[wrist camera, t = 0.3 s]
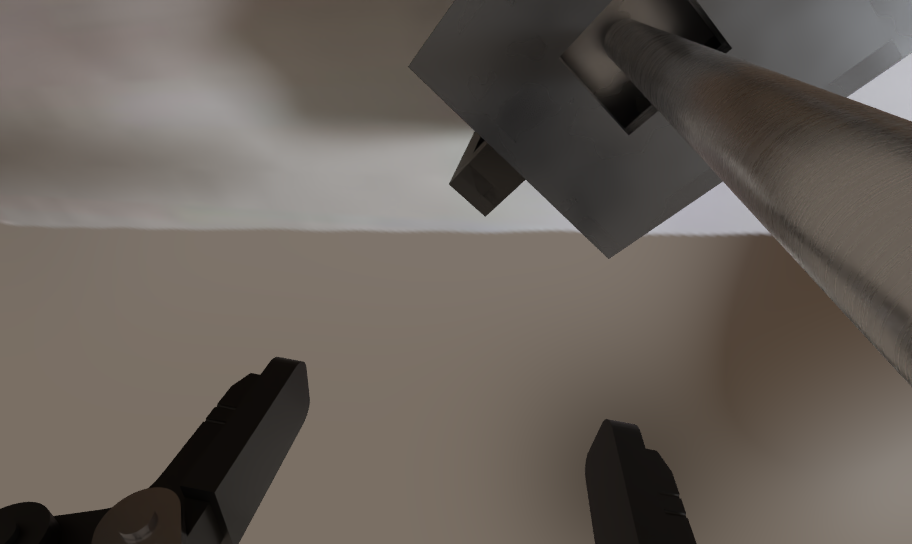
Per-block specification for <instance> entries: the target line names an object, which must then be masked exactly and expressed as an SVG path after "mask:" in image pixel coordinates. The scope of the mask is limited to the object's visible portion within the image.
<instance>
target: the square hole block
mask: <svg viewBox="0 0 912 544" xmlns="http://www.w3.org/2000/svg"><path fill="white" fill-rule="evenodd" d="M611 1H612V0H455V1H454V2H453V4H452V5H451V7H450V8H449V9H448V11H447V12H446V14H445V15H444V17H443V18H442V19H441V21H440V22H439V24H438V25H437V26H436V28H435V29H434V31H433V32H432V34H431V35H430V36H429V38H428V39H427V41H426V42H425V43H424V45H423V46H422V48H421V49H420V51H419V52H418V53H417V55H416V56H415V58H414V59H413V60H412V62H411V63H410V65H409V66H408V67H409V68H410V69H411V70H412V71H413V72H414V73H415V74H416V75H417V76H418V77H419V78H420V79H421V80H422V81H423V82H424V83H425V84H427V85H428V86H429V87H430V88H431V89H432V90H433V91H434V92H435V93H436V94H437V95H438V96H439V97H440V98H441V99H442V100H443V101H444V102H445V103H446V104H447V105H448V106H450V107H451V108H452V109H453V110H454V111H455V112H456V113H457V114H458V115H459V116H460V117H461V118H462V119H463V120H464V121H465V122H466V123H467V124H468V125H469V126H470V127H471V128H472V129H474V130H475V132H474V134H473V136H472V138H471V140H470V142H469V144H468V146H467V148H466V150H465V152H464V154H463V156H462V158H461V160H460V163H459V165H458V167H457V169H456V171H455V173H454V175H453V177H452V179H451V181H450V183H449V185H450V186H451V187H453V188H454V189H455V190H456V191H457V192H458V193H459V194H460V195H462V196H463V197H464V198H465V199H466V200H467V201H468V202H469V203H471V204H472V205H473V206H474V207H475V208H476V209H477V210H478V211H480V212H481V213H482V214H483V215H484V216H485V217H486V216H487V215H488V214H489V213H490V212H491V211H492V210H493V209H494V208H495V207H496V206H497V205H499V204H500V203H501V202H502V201H503V200H504V199H505V198H506V197H507V196H508V195H509V194H510V193H512V192H513V191H514V190H515V189H516V188H517V187H518V186H519V185H520V184H521V183H522V182H523V181H525V180H527V181H528V182H529V183H530V184H531V185H532V186H533V187H534V188H535V189H536V190H537V191H538V192H539V193H540V194H541V195H542V196H543V197H545V198H546V199H547V200H548V201H549V202H550V203H551V204H552V205H553V206H554V207H555V208H556V209H557V210H558V211H559V212H560V213H561V214H562V215H563V216H564V217H565V218H566V219H568V220H569V221H570V222H571V223H572V224H573V225H574V226H575V227H576V228H577V229H578V230H579V231H580V232H581V233H582V234H583V235H584V236H585V237H586V238H587V239H588V240H589V241H590V242H592V243H593V244H594V245H595V246H596V247H597V248H598V249H599V250H600V251H601V252H602V253H603V254H604V255H605V256H606V257H607V258H608V259H609V258H611V257H612V256H614V255H615V254H617V253H618V252H620V251H621V250H622V249H624V248H626V247H627V246H628V245H630V244H632V243H633V242H634V241H636V240H637V239H639V238H640V237H642V236H643V235H645V234H646V233H648V232H649V231H651V230H652V229H654V228H655V227H656V226H658V225H659V224H661V223H662V222H664V221H665V220H667V219H668V218H670V217H671V216H673V215H674V214H676V213H677V212H679V211H680V210H681V209H683V208H684V207H686V206H687V205H689V204H690V203H692V202H693V201H695V200H696V199H698V198H699V197H701V196H702V195H704V194H705V193H706V192H708V191H709V190H711V189H712V188H714V187H715V186H717V185H718V184H720V183H721V182H723V181H722V180H721V179H720V178H719V176H718V175H717V174H716V173H715V172H714V171H713V170H712V169H711V168H710V167H709V166H708V164H707V163H706V162H705V161H704V160H703V159H702V158H701V157H700V156H699V155H698V154H697V153H696V151H695V150H694V149H693V148H692V147H691V146H690V145H689V144H688V143H687V142H686V141H685V139H684V138H683V137H682V136H681V135H680V134H679V133H678V132H677V131H676V130H675V129H674V127H673V126H672V125H671V124H670V123H669V122H668V121H667V120H666V119H665V118H664V117H663V115H662V114H661V113H660V112H659V111H658V110H657V109H656V108H655V107H654V106H653V105H651V106H649V107H648V108H647V109H646V110H645V111H644V112H643V113H641V114H640V115H639V116H638V117H637V118H636V119H634V120H633V121H632V122H631V123H630V124H629V125H627V126H626V127H625V128H624V127H623V126H622V125H621V124H620V123H619V122H618V120H617V119H616V118H615V117H614V116H613V115H612V114H611V113H610V112H609V110H608V109H607V108H606V107H605V106H604V105H603V104H602V103H601V102H600V100H599V99H598V98H597V97H596V96H595V95H594V94H593V93H592V92H591V91H590V89H589V88H588V87H587V86H586V85H585V84H584V83H583V82H582V81H581V79H580V78H579V77H578V76H577V75H576V74H575V73H574V72H573V71H572V69H571V68H570V67H569V66H568V65H567V64H566V63H565V62H564V61H563V60H562V58H561V57H560V56H561V55H562V54H563V53H564V52H565V51H566V50H567V49H568V47H569V46H570V45H571V44H572V43H573V42H574V41H575V40H576V39H577V38H578V37H579V36H580V35H581V33H582V32H583V31H584V30H585V29H586V28H587V27H588V26H589V25H590V24H591V23H592V22H593V21H594V20H595V18H596V17H597V16H598V15H599V14H600V13H601V12H602V11H603V10H604V9H605V8H606V7H607V6H608V4H609V3H610V2H611ZM688 1H689V3H690V4H691V5H692V7H693V8H694V9H695V11H696V12H697V13H698V15H699V16H700V17H701V19H702V20H703V21H704V23H705V24H706V25H707V27H708V28H709V29H710V31H711V32H712V33H713V34H714V36H715V37H716V38H717V40H718V41H719V42H720V44H721V45H720V46H719V47H718V48H717V49H716V50H718V51H720V52H723V53H726V54H729V55H731V56H734V57H737V58H739V59H742V60H745V61H748V62H750V63H753V64H756V65H759V66H761V67H764V68H767V69H769V70H772V71H775V72H778V73H780V74H783V75H786V76H789V77H791V78H794V79H797V80H799V81H802V82H805V83H808V84H810V85H813V86H816V87H819V88H821V89H824V90H827V91H829V92H832V93H835V94H838V95H840V96H843V97H848V96H849V95H851V94H852V93H853V92H855V91H856V90H858V89H859V88H861V87H862V86H864V85H865V84H867V83H868V82H870V81H871V80H873V79H874V78H875V77H877V76H878V75H880V74H881V73H883V72H884V71H886V70H887V69H889V68H890V67H892V66H893V65H895V64H896V63H898V62H899V61H900V60H902V59H903V58H905V57H906V56H908V55H909V54H911V53H912V0H688Z"/></svg>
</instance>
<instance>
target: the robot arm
mask: <svg viewBox="0 0 912 544" xmlns="http://www.w3.org/2000/svg"><path fill="white" fill-rule="evenodd" d="M309 403H310V397H309V388H308V379H307V370H306V364H305V362H302V361H297V360H291V359H286V358H280V357H275V358H273V359H272V360H271V361H270V363H269V364H268V365H267V367H266V368H265V369H264V371H263V372H262V373H261V375H258V374H253V373H250V374H249V375H247V376H246V377H244V378H243V379H241V380H240V381H238V382H237V383H236V384H234V385H233V386H231V387H230V389H229V390H228V391H227V392H226V394H225V395H224V396H223V398H222V399H221V400H220V401H219V403H218V405H217V407H215V408H214V409H213V410H212V411H211V413H210V414H209V415H208V417H207V418H206V421H205V422H203V423H202V424H201V425H200V426H199V428H198V429H197V430H196V432H195V433H194V434H193V435H192V437H191V438H190V439H189V440H188V442H187V443H186V444H185V445H184V447H183V448H182V449H181V451H180V452H179V453H178V454H177V456H176V457H175V458H174V459H173V461H172V462H171V463H170V464H169V466H168V467H167V468H166V470H165V471H164V472H163V473H162V474H161V476H160V477H159V478H158V479H157V480H156V481H155V482H154V483H153V484H152V485H151V486H150V487H149V488H147V489H144V490H141V491H138V492H135V493H133V494H131V495H129V496H127V497H126V498H124V499H122V500H121V501H120V502H118V503H117V504H116V505H114V506H113V507H112V508H108V509H102V510H95V511H88V512H81V513H74V514H66V515H58V516H53V515H52V514H51V513H50V511H49V510H48V509H47V508H46V507H45V506H44V505H42V504H40V503H36V502H23V503H18V504H13V505H10V506H7V507H4V508H2V509H0V544H239V542H240V540H241V538H242V536H243V535H244V532H245V531H246V529H247V527H248V525H249V523H250V521H251V520H252V518H253V516H254V514H255V512H256V510H257V508H258V507H259V505H260V503H261V501H262V499H263V497H264V496H265V494H266V492H267V490H268V488H269V486H270V484H271V483H272V481H273V479H274V477H275V475H276V473H277V471H278V470H279V468H280V466H281V464H282V462H283V460H284V458H285V456H286V455H287V453H288V451H289V449H290V447H291V445H292V444H293V441H294V440H295V438H296V436H297V434H298V432H299V430H300V429H301V427H302V425H303V423H304V421H305V419H306V416H307V413H308V408H309ZM585 477H586V485H587V491H588V498H589V505H590V512H591V519H592V526H593V532H594V539H595V544H696V541H695V538H694V535H693V532H692V529H691V527H690V524H689V521H688V518H686V512H685V509H684V506H683V503H682V500H681V499H680V498H679V492H678V488H677V486H676V483H675V480H674V477H673V474H672V471H671V470H670V469H669V467H668V466H667V464H666V463H665V462H664V460H663V459H662V458H661V456H660V455H659V453H658V452H657V451H655V450H650V449H645V445H644V442H643V439H642V435H641V433H640V429H639V428H638V426H637V425H635V424H630V423H625V422H619V421H613V420H608V419H606V420H604V421H603V423H602V425H601V427H600V429H599V431H598V433H597V435H596V437H595V440H594V442H593V444H592V446H591V448H590V450H589V452H588V454H587V458H586V465H585Z"/></svg>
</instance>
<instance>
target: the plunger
mask: <svg viewBox="0 0 912 544" xmlns="http://www.w3.org/2000/svg"><path fill="white" fill-rule="evenodd" d="M720 45H721V44H720V42H719V41H718V40H717V38H716V37H715V36H714V34H713V33H712V32H711V31H710V29H709V28H708V27H707V25H706V24H705V23H704V21H703V20H702V19H701V17H700V16H699V15H698V13H697V12H696V11H695V9H694V8H693V7H692V5H691V4H690V3H689V1H688V0H612V1H611V2H610V3H609V4H608V6H607V7H606V8H605V9H604V10H603V11H602V12H601V13H600V14H599V15H598V16H597V17H596V18H595V20H594V21H593V22H592V23H591V24H590V25H589V26H588V27H587V28H586V29H585V30H584V31H583V32H582V33H581V35H580V36H579V37H578V38H577V39H576V40H575V41H574V42H573V43H572V44H571V45H570V46H569V47H568V49H567V50H566V51H565V52H564V53H563V54H562V55H561V56H560V57H561V58H562V60H563V61H564V62H565V63H566V64H567V65H568V66H569V67H570V68H571V69H572V71H573V72H574V73H575V74H576V75H577V76H578V77H579V78H580V79H581V81H582V82H583V83H584V84H585V85H586V86H587V87H588V88H589V89H590V91H591V92H592V93H593V94H594V95H595V96H596V97H597V98H598V99H599V100H600V102H601V103H602V104H603V105H604V106H605V107H606V108H607V109H608V110H609V112H610V113H611V114H612V115H613V116H614V117H615V118H616V119H617V120H618V122H619V123H620V124H621V125H622V126H623V127H624V128H625V127H626V126H627V125H629V124H630V123H631V122H632V121H633V120H634V119H636V118H637V117H638V116H639V115H640V114H641V113H643V112H644V111H645V110H646V109H647V108H648V107H649V106H651V105H653V106H654V107H655V108H656V109H657V110H658V111H659V112H660V113H661V114H662V115H663V117H664V118H665V119H666V120H667V121H668V122H669V123H670V124H671V125H672V126H673V127H674V129H675V130H676V131H677V132H678V133H679V134H680V135H681V136H682V137H683V138H684V139H685V141H686V142H687V143H688V144H689V145H690V146H691V147H692V148H693V149H694V150H695V151H696V153H697V154H698V155H699V156H700V157H701V158H702V159H703V160H704V161H705V162H706V163H707V164H708V166H709V167H710V168H711V169H712V170H713V171H714V172H715V173H716V174H717V175H718V176H719V178H720V179H721V180H722V181H723V182H724V183H725V184H726V185H727V186H728V187H729V188H730V190H731V191H732V192H733V193H734V194H735V195H736V196H737V197H738V198H739V199H740V200H741V202H742V203H743V204H744V205H745V206H746V207H747V208H748V209H749V210H750V211H751V212H752V214H753V215H754V216H755V217H756V218H757V219H758V220H759V221H760V222H761V223H762V224H763V226H764V227H765V228H766V229H767V230H768V231H769V232H770V233H771V234H772V235H773V236H774V238H775V239H776V240H777V241H778V242H779V243H780V244H781V245H782V246H783V247H784V248H785V249H786V251H787V252H788V253H789V254H790V255H791V256H792V257H793V258H794V259H795V260H796V261H797V263H798V264H799V265H800V266H801V267H802V268H803V269H804V270H805V271H806V272H807V273H808V274H809V276H810V277H811V278H812V279H813V280H814V281H815V282H816V283H817V284H818V285H819V287H820V288H821V289H822V290H823V291H824V292H825V293H826V294H827V295H828V296H829V297H830V299H832V301H833V302H834V303H835V304H836V305H837V306H838V307H839V308H840V309H841V310H842V312H843V313H844V314H845V315H846V316H847V317H848V318H849V319H850V320H851V321H852V322H853V323H854V325H855V326H856V327H857V328H858V329H859V330H860V331H861V332H862V333H863V334H864V336H865V337H866V338H867V339H868V340H869V341H870V342H871V343H872V344H873V345H874V346H875V348H876V349H877V350H878V351H879V352H880V353H881V354H882V355H883V356H884V357H885V358H886V359H887V360H888V362H889V363H890V364H891V365H892V366H893V367H894V368H895V369H896V370H897V371H898V373H899V374H900V375H901V376H902V377H903V378H904V379H905V380H906V381H907V382H908V383H909V385H910V386H911V387H912V122H911V121H909V120H906V119H903V118H900V117H898V116H895V115H892V114H889V113H887V112H884V111H881V110H879V109H876V108H873V107H870V106H868V105H865V104H862V103H859V102H857V101H854V100H851V99H849V98H846V97H843V96H840V95H838V94H835V93H832V92H829V91H827V90H824V89H821V88H819V87H816V86H813V85H810V84H808V83H805V82H802V81H799V80H797V79H794V78H791V77H789V76H786V75H783V74H780V73H778V72H775V71H772V70H769V69H767V68H764V67H761V66H759V65H756V64H753V63H750V62H748V61H745V60H742V59H739V58H737V57H734V56H731V55H729V54H726V53H723V52H720V51H718V50H716V49H717V48H718V47H719V46H720Z"/></svg>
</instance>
